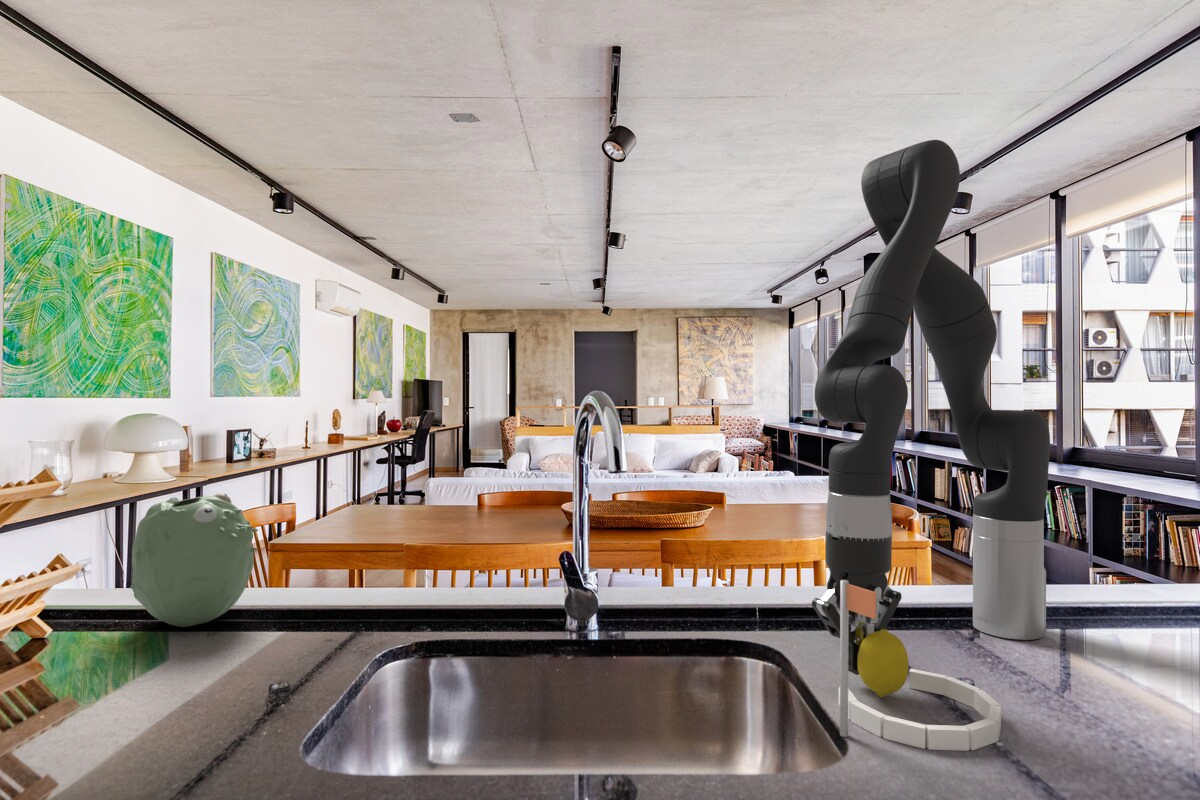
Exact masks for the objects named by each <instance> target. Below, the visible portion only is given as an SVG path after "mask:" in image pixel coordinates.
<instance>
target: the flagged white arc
mask: <svg viewBox="0 0 1200 800" xmlns="http://www.w3.org/2000/svg"><path fill="white" fill-rule="evenodd" d="M849 610H850V611H853V612H856V613H859V614H862V615H864V616H867V617H870V618H873V619H876V592H873V591H870V590H867V589H863V588H860V587H857V586H854V585H850V584H849V581H847V580H841V581H840V638H839V639H840V640H839V641H840V643H839V646H840V647H839V651H840V653H839V655H840V656H839V668H840V669H839V675H840V676H839V678H840V679H839V686H838V706H839V736H840V737H843V738H848V736H849V721H850V722H851V723H853V724H855V725H856V726H859V727H860V728H862V729H864V730H866V731H867V732H870V733H872V734H873V735H875V736H877V737H879V738H881V737H883V738H882V739H885V740H887V741H888V740H889V741H893V742H895V743H896V742H897V743H900V744H904V745H908V746H913V747H915V748H916V747H917V748H920V749H924V750H925V749H926V748H927V749H928V750H930V751H931V750H933V751H963V752H965V751H968V752H969V751H970V750H971V751H974V750H978V749H980V748H983V747H986V746H990V745H991V744H995V743H997V742H998V741H999V740H1000V734H1001V729H1002V706H1001V704H999V703H998V702H997V701H996V700H995V699H994V698H992V697H991V696H990V695H989V694H988V693H987V692H985V691H984V689H983V690H982V689H981V688H979V687H977V686H974V685H971V684H970V683H967V682H964V681H961V680H959V679H956V678H954V677H952V676H947V675H944V674H939V673H936V672H929V671H924V670H920V669H916V668H915V669H914V668H910V669H909V670H908V678H909V679H908V688H909V689H913V690H918V691H923V692H927V693H933V694H937V695H942V696H945V697H946V698H947V697H948V698H950V699H953V700H955V701H957V702H959V703H961V704H964V705H966V706H969V707H971V708H973V709H974V710H975V711H977V712H978V713H979V715H981V716H982V717H983V719H980V720H978V721H975V722H972V723H969V724H966V725H965V724H964V725H952V724H951V725H950V724H949V725H946V724H944V725H942V724H941V725H940V724H925V723H920V722H915V721H911V720H907V719H902V718H898V717H895V716H894V717H893V716H891V715H887V714H884V713H882V712H880V711H878V710H876V709H874V708H872V707H871V706H868V705H866V704H864V703H862V702H861V701H859V700H858V699H857V698H856V696H855V695H854V694H853V692H852V691H851V690H850V688H849V671H848V621H849Z"/></svg>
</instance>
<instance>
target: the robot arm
mask: <svg viewBox="0 0 1200 800" xmlns="http://www.w3.org/2000/svg"><path fill="white" fill-rule="evenodd" d="M960 178H961V171H960V164H959V161H958V158H957V156H956V153H955V152H954V150H953V149H952V148H951V146H950V145H949V144H948V143H946V142H945V141H944V140H940V139H929V140H926V141H920V142H918V143H914V144H912V145H909V146H906V147H905V148H901V149H898V150H896V151H894V152H893V151H892V152H891V153H887V154H884V155H882V156H880V157H877V158H875V159H873V160H871V161H869V162H868V163H867V164H866V165H865V167H864V168H863V170H862V174H861V178H860V179H861V180H860V182H861V183H860V185H861V191H862V196H863V201H864V203H865V207H866V209H867V211H868V214H869V216H870V218H871V220H872V222H873V224H874V226H875V229H876V230H877V232H878V233H879V236H880V238H881V240H882V241H883V244H884V245H885V248H883V250H882V252H881V253H880V254H879V255H878V256H877V258H876V259H875V260H874V261H873V262H872V264H871V265H870V266H869V269H868V268H867V269H868V270H867V271H866V272H865V274H864V276H863V277H862V278H861V280H860V282H859V284H858V286H857V289H856V291H855V295H854V298H853V301H852V305H851V309H850V312H849V316H848V318H847V319H848V321H847V324H846V328H845V330H844V332H843V334H842V336H841V337H840V338H839V340H838V342H837V343H836V344H835V346H834V348H833V350H832V351H831V353H830V355H829V357H828V359H826V361H825V363H824V364H823V366H822V369H821V370H820V372H819V374H818V376H817V379H816V382H815V386H814V403H815V406H816V409H817V411H818V413H819V414H820V415H821V416H822V417H823V418H824V419H825V420H827V421H829V422H833V423H850V424H865V428H864V429H863V432H862V433H861V434H862V435H861V436H860V438H859V439H857V440H855V441H847V442H842V443H838V444H836V445H833V446H832V448H831V449H830V450H829V451H830V452H829V457H828V495H827V501H826V507H825V509H826V510H825V511H826V512H825V563H826V566H827V567H828V570H829V573H830V574H829V578H828V580H827V584H826V588H827V591H826V592H825V593H824V594H823V596H822V597H821V598H818V597H815V598H813V599H812V601H811V607H812V608H813V610H814V611H815V612H816V614H817V616H818V617H819V619H820V620H821V622H822V624H823V625H824V627H825V628H826V629H827V631H828V632H829V634H830V636H832V637H836V638H838V639H840V581H841V580H847V581H849V584H850V585H854V586H857V587H860V588H863V589H867V590H870V591H873V592H876V619H873V618H870V617H867V616H864V615H862V614H859V613H856V612H853V611H850V610H849V621H848V672H849V673H852V674H854V675H857V676H860V674H859V671H858V652H859V648H860V645H861V643H862V641H863V640H864V638H865V637H866V636H867V635H869V634H871V633H873V632H876V631H880V630H881V629H886V630H887V627H888V625H889V623H890V621H891V619H892V618H893V616H894V613H895V611H896V609H897V607H898V606H899V604H900V602H901V600H902V596H903V595H902V593H901V592H900V591H897V590H893V589H892V588H891V587H890V586H889V585H888V584H889V581H888V576H887V575H886V574H887V573H889V572H890V571H891V570H892V553H893V552H892V549H893V547H892V546H893V545H892V544H893V543H892V542H893V541H892V540H893V511H892V503H891V462H892V456H893V454H894V453H893V452H894V448H895V444H896V440H897V436H898V433H899V429H900V427H901V424H902V422H903V418H904V415H905V412H906V408H907V405H908V398H909V391H908V389H909V388H908V384H907V381H906V378H905V377H904V375H903V374H902V372H901V371H900V370H899V369H898V368H896V367H895V366H893V365H889V364H873V363H875V362H877V361H881V360H884V359H888V358H891V357H893V356H896V354H899V353H900V352H901V350H902V349H903V346H904V344H905V341H906V337H907V332H908V330H909V329H908V328H909V324H910V319H911V315H912V311H914V315H915V318H916V320H917V323H918V326H919V328H920V331H921V333H922V336H923V337H924V341H925V343H926V345H927V347H928V350H929V352H930V354H931V357H932V359H933V362H934V364H935V367H936V370H937V372H938V375H939V377H940V380H941V383H942V387H943V389H944V392H945V395H946V398H947V401H948V405H949V409H950V413H951V417H952V420H953V424H954V428H955V432H956V436H957V438H958V442H959V445H960V448H961V452H962V453H963V455H964V456H965V459H966V460H967V461H968V462H969V463H970V464H971V465H973V466H974V467H976V468H979V469H983V470H990V471H992V470H993V471H1004V472H1008V473H1007V479H1006V481H1005V484H1004V485H1003V486H1001V487H998V488H997V489H995V490H991V491H988V492H983V493H979V494H977V495H975V496H974V498H973V500H972V501H973V503H972V533H973V534H972V626H973V627H974V629H976V630H977V631H979V632H982V633H984V634H986V635H990V636H993V637H999V638H1003V639H1009V640H1023V641H1029V640H1030V641H1032V640H1038V639H1041V638H1043V637H1044V633H1045V632H1046V631H1047V570H1046V568H1045V566H1044V565H1045V564H1044V563H1045V562H1044V561H1045V559H1044V557H1045V552H1044V551H1045V550H1044V549H1045V547H1044V546H1045V543H1044V540H1045V539H1044V538H1045V536H1044V535H1045V534H1044V532H1045V531H1044V530H1045V529H1044V528H1045V527H1044V524H1045V523H1044V522H1045V520H1044V519H1045V507H1046V503H1047V497H1048V485H1049V484H1048V483H1049V482H1048V481H1049V469H1050V468H1049V467H1050V454H1051V435H1050V429H1049V426H1048V423H1047V420H1046V418H1045V417H1044V416H1043V415H1042V414H1041V413H1039V412H1037V411H1035V410H1022V409H1021V410H1020V409H992V408H991V407H990V405H989V403H988V401H987V398H986V395H985V392H984V391H985V390H984V387H983V380H984V377H985V376H984V375H985V372H986V369H987V367H988V365H989V362H990V359H991V356H992V354H993V351H994V349H995V345H996V341H997V337H998V331H997V330H998V329H997V324H996V322H995V318H994V315H993V313H992V310H991V306H990V305H989V301H988V299H987V295H986V294H985V291H984V290H983V288H982V286H981V285H980V284H979V282H978V281H976V279H975V278H973V276H971V274H969V273H968V272H967V271H965V270H964V269H963V268H961V267H960V266H959V265H958V264H956V263H955V262H953V261H952V260H951V259H949V258H948V257H946V256H945V255H944V253H941V252H940V251H939V250H938V249H937V248H936V246H937V243H938V241H939V240H940V236H941V234H942V231H943V230H944V227H945V225H946V223H947V220H948V218H949V216H950V213H951V212H952V209H953V207H954V204H955V200H956V198H957V195H958V192H959V189H960V188H959V186H960V180H961V179H960Z"/></svg>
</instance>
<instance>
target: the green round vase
mask: <svg viewBox="0 0 1200 800" xmlns="http://www.w3.org/2000/svg"><path fill="white" fill-rule="evenodd" d="M258 531H259V530H258V529H257V528H254V527H253V525H251V523H250V521H249V520H247V519H246V518H245V516H244V514H243V510H242V509H239V508H238V507H237V506H236V505H234V504H232V500H231V498H230V496H228V494H226V493H216V494H214V495H213V496H197V497H193V498H187V499H181V500H180V499H178V498H177V497H175V496H172V497H170V498H169V499H166V500H165V501H162V502H158V503H157V502H156V503H155V504H153V505H151V506H150V507H149V508H148V510H147V511H146V513H145V516H143V518H142V519H140V521H139V523H138V526H137V529H136V532H135V538H134V539H133V540H134V541H133V543H132V549H131V556H132V557H131V566H132V569H133V571H132V572H133V573H132V580H131V581H132V583H131V585H130V587H129V588H130V589H131V590H132V592H133V597H134V599H136V601H137V602H138V603H140V604H141V606H143V607H144V609H145V610H146V611H147V612H148V613H149V614H150V615H151V616H152V617H154V618H155V619H157V620H159V621H161V622H165V623H166V624H168V625H171V626H175V627H178V628H179V627H180V628H187V627H193V626H197V625H200V624H206V623H209V622H211V621H213V620H215V619H217V618H219V617H220V616H222V615H223V614H225V613H226V612H228V611H229V610H230V609H231V608H232V607H233V606H235V604H236V603H237V602H238V601H239V599H240V598H241V597H242V594H243V593H244V592H245V589H246V588H247V585H248V583H249V580H250V577H251V574H252V571H253V568H254V565H255V564H254V561H255V560H254V559H255V557H254V552H255V551H258V549H259V548H258V547H255V546H253V539H254V533H256V532H258Z"/></svg>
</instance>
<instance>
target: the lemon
mask: <svg viewBox="0 0 1200 800" xmlns="http://www.w3.org/2000/svg"><path fill="white" fill-rule="evenodd" d="M909 665H910V664H909V657H908V653H907V650H906V647H905V645H904V643H903V642H902V641H901V639H900V638H898V637H897V636H896V635H894V634H893V633H891V632H889V630H888V629H887V628H886V629H881V630H880V631H876V632H873V633H871V634H869V635H867V636H866V637H865V638H864V640H863V641H862V643H861V645H860V648H859V652H858V671H859V676H860V679H861V680H862V682H863V684H864V685H865V686H866V687H868V688H869V690H871V691H873V692H874V693H875V694H876V695H877V696H878V697H880V698H884V697H886V696H887V695H890V694H894V693H897V692H898V691H899V690H900V689H902V688H903V687H904V685H905V684H906V682H907V679H908V677H909V670H910V669H909V668H910V667H909Z"/></svg>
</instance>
